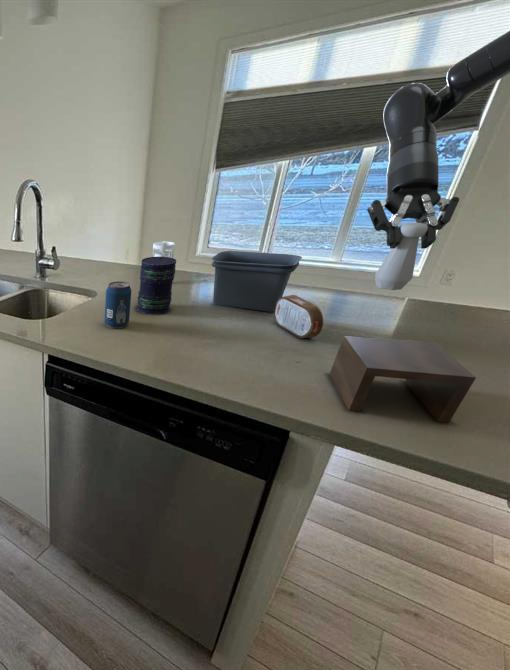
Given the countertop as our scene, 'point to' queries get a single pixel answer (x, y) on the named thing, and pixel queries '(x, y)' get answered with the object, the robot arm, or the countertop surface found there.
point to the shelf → (401, 372)
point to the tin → (298, 316)
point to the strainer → (163, 249)
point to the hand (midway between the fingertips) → (410, 245)
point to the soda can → (117, 304)
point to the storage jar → (156, 284)
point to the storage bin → (251, 278)
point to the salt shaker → (401, 258)
